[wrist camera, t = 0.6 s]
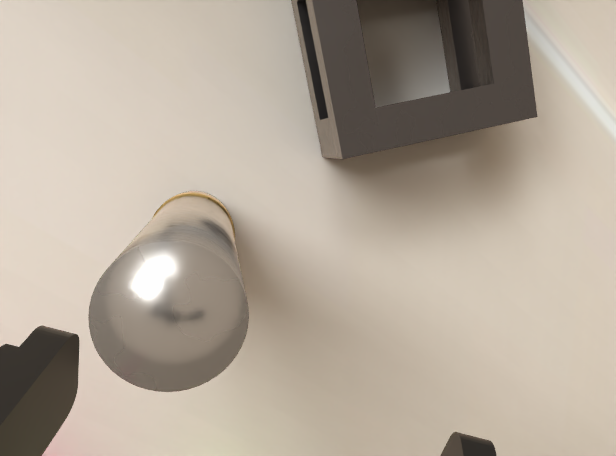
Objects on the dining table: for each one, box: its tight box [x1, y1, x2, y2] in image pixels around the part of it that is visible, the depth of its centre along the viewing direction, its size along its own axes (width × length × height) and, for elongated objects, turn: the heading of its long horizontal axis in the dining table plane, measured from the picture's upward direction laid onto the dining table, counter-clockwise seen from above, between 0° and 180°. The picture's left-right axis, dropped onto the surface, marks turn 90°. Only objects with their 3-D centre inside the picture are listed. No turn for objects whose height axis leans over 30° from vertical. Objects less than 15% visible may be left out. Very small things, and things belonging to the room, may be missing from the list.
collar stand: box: [291, 0, 537, 159], centre depth 31 cm, size 11×11×6 cm
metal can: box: [89, 191, 249, 392], centre depth 24 cm, size 5×5×18 cm
